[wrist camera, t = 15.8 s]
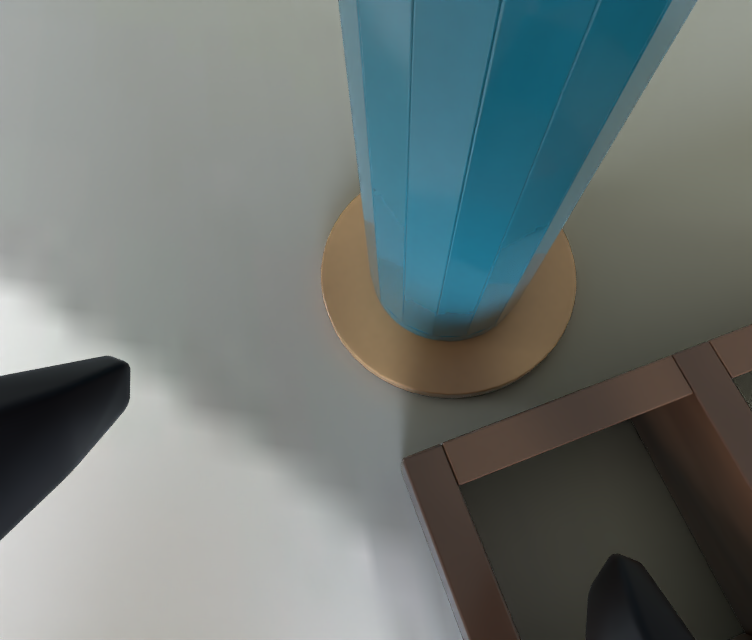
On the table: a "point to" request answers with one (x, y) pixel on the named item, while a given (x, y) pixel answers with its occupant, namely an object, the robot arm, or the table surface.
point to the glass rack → (586, 416)
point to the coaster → (432, 357)
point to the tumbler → (485, 138)
